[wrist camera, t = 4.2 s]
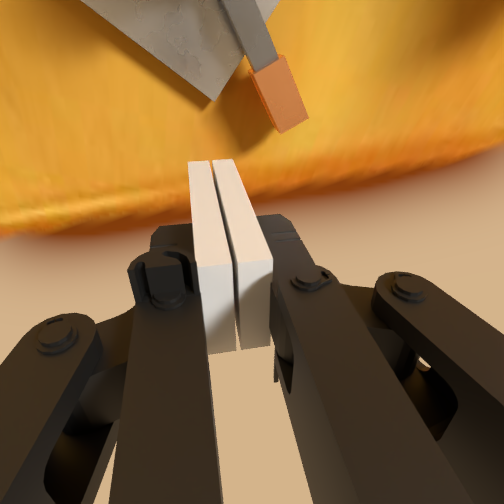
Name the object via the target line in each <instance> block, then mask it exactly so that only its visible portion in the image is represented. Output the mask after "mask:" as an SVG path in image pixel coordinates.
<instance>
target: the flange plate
mask: <svg viewBox="0 0 504 504" xmlns="http://www.w3.org/2000/svg"><path fill="white" fill-rule="evenodd" d="M81 1H82V2H83V3H85V4H86V5H87V6H89V7H90V8H91V9H93V10H94V11H95V12H97V13H98V14H99V15H101V16H102V17H103V18H104V19H106V20H107V21H108V22H110V23H111V24H112V25H114V26H115V27H116V28H118V29H119V30H120V31H122V32H123V33H124V34H126V35H127V36H128V37H130V38H131V39H132V40H133V41H135V42H136V43H137V44H139V45H140V46H141V47H143V48H144V49H145V50H147V51H148V52H149V53H151V54H152V55H153V56H155V57H156V58H157V59H159V60H160V61H161V62H162V63H164V64H165V65H166V66H168V67H169V68H170V69H172V70H173V71H174V72H176V73H177V74H178V75H180V76H181V77H182V78H184V79H185V80H186V81H188V82H189V83H190V84H191V85H193V86H194V87H195V88H197V89H198V90H199V91H201V92H202V93H203V94H205V95H206V96H207V97H209V98H210V99H211V100H213V101H214V102H215V100H216V99H217V97H218V96H219V94H220V92H221V91H222V89H223V88H224V86H225V85H226V83H227V82H228V80H229V78H230V77H231V75H232V74H233V72H234V71H235V69H236V68H237V66H238V65H239V63H240V61H241V60H242V58H243V57H244V55H245V52H244V50H243V48H242V46H241V44H240V41H239V39H238V37H237V35H236V33H235V30H234V28H233V26H232V24H231V22H230V19H229V17H228V15H227V13H226V11H225V8H224V6H223V4H222V2H221V0H81ZM279 1H280V0H256V3H257V5H258V8H259V10H260V13H261V15H262V18H263V20H264V23H266V21H267V20H268V18H269V16H270V15H271V13H272V12H273V10H274V9H275V7H276V6H277V4H278V2H279Z"/></svg>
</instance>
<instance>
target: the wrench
mask: <svg viewBox="0 0 504 504" xmlns="http://www.w3.org/2000/svg"><path fill="white" fill-rule="evenodd" d="M221 2H222V4H223V6H224V8H225V11H226V13H227V15H228V17H229V19H230V22H231V24H232V26H233V28H234V30H235V33H236V35H237V37H238V39H239V41H240V44H241V46H242V48H243V50H244V52H245V55H246V57H247V59H248V61H249V63H250V66H251V69H250V70H248V73H249V75H250V77H251V79H252V81H253V83H254V86H255V88H256V90H257V92H258V94H259V96H260V99H261V101H262V103H263V105H264V107H265V109H266V111H267V114H268V116H269V118H270V120H271V122H272V124H273V127H274V128H275V129H276V130H277V131H278V132H279V133H280V134H282V133H284V132H286V131H287V130H289V129H291V128H293V127H294V126H296V125H298V124H299V123H301V122H303V121H305V120H306V119H308V118H309V117H308V115H307V112H306V109H305V107H304V104H303V102H302V99H301V97H300V94H299V92H298V89H297V87H296V84H295V82H294V79H293V76H292V74H291V71H290V69H289V66H288V64H287V61H286V59H285V56H283V55H280V54H277V52H276V50H275V47H274V45H273V42H272V40H271V37H270V35H269V33H268V30H267V28H266V25H265V23H264V20H263V18H262V15H261V13H260V10H259V8H258V5H257V3H256V0H221Z"/></svg>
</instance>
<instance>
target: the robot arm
mask: <svg viewBox="0 0 504 504" xmlns="http://www.w3.org/2000/svg"><path fill="white" fill-rule="evenodd" d="M212 166H213V177H212V173H211V168H210V164H209V161H194V162H188V171H189V184H190V198H191V211H192V223H189V224H179V225H168V226H159V227H158V229H157V230H156V231H155V232H154V233H153V235H152V236H151V242H150V251H149V252H146V253H144V254H142V255H140V256H138V257H137V258H136V259H135V260H133V261H132V262H131V264H130V266H129V268H128V269H127V272H128V275H129V279H130V283H131V287H132V291H133V295H134V298H135V302H136V303H135V306H134V307H133V308H131V309H130V310H128V311H127V312H125V313H123V314H121V315H119V316H116V317H114V318H111V319H109V320H106V321H103V322H100V323H97V324H95V323H94V320H92V319H91V318H90V317H88V316H87V315H83V314H79V313H69V314H61V315H57V316H55V317H52V318H49V319H46V320H44V321H43V322H41V323H39V324H38V325H36V326H34V327H33V328H32V329H31V330H30V331H29V332H27V333H26V334H25V335H24V336H23V337H22V339H21V340H20V341H19V342H18V344H17V345H16V346H15V347H14V349H13V350H12V351H11V353H10V354H9V355H8V356H7V357H6V359H5V360H4V361H3V363H2V364H1V365H0V504H93V503H94V500H95V497H96V495H97V492H98V489H99V487H100V484H101V481H102V479H103V476H104V473H105V471H106V468H107V465H108V462H109V460H110V457H111V455H112V452H113V449H114V447H115V444H116V441H117V445H116V452H115V460H114V467H113V474H112V482H111V489H110V497H109V504H223V495H222V486H221V476H220V466H219V456H218V447H217V438H216V428H215V419H214V409H213V399H212V390H211V380H210V371H209V362H208V355H209V354H216V353H223V352H230V351H236V336H235V335H236V334H235V321H236V326H237V331H238V336H239V341H240V346H241V350H243V349H250V348H257V347H264V346H270V336H271V335H272V338H273V342H274V345H275V356H274V358H275V359H274V382H278V377H279V380H280V384H281V387H282V391H283V395H284V398H285V402H286V405H287V409H288V413H289V417H290V420H291V424H292V427H293V431H294V435H295V438H296V442H297V446H298V449H299V453H300V456H301V460H302V464H303V468H304V471H305V475H306V478H307V482H308V486H309V489H310V493H311V497H312V500H313V504H504V335H503V334H502V333H501V332H499V331H498V330H497V329H495V328H494V327H492V326H491V325H490V324H488V323H487V322H485V321H484V320H483V319H481V318H480V317H479V316H477V315H476V314H474V313H473V312H472V311H470V310H469V309H468V308H466V307H465V306H463V305H462V304H460V303H459V302H458V301H456V300H455V299H454V298H452V297H451V296H450V295H448V294H446V293H445V292H444V291H442V290H441V289H440V288H438V287H437V286H436V285H434V284H433V283H432V282H430V281H428V280H426V279H424V278H423V277H421V276H418V275H415V274H411V273H407V272H389V273H385V274H384V275H382V276H380V277H379V278H378V280H377V281H376V283H375V287H374V288H369V287H358V286H350V285H344V284H341V283H339V281H338V280H337V278H336V277H335V276H334V275H333V274H332V273H331V272H330V271H329V270H327V269H325V268H323V267H321V266H317V265H315V263H314V261H313V259H312V258H311V256H310V254H309V252H308V251H307V249H306V247H305V245H304V244H303V242H302V240H300V237H299V235H298V233H297V232H296V230H295V228H294V226H293V225H292V223H291V221H289V220H288V219H287V218H285V217H284V216H282V215H281V214H275V215H264V216H256V215H255V213H254V211H253V208H252V206H251V203H250V201H249V198H248V196H247V193H246V191H245V188H244V186H243V183H242V181H241V179H240V176H239V174H238V171H237V169H236V166H235V164H234V161H233V159H225V160H212ZM213 180H214V182H213ZM420 357H421V358H422V359H423V360H424V361H426V362H427V363H428V364H429V365H430V366H431V368H429V367H426V366H425V365H424V364H422V363H421V362H420V361H419V358H420Z"/></svg>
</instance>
